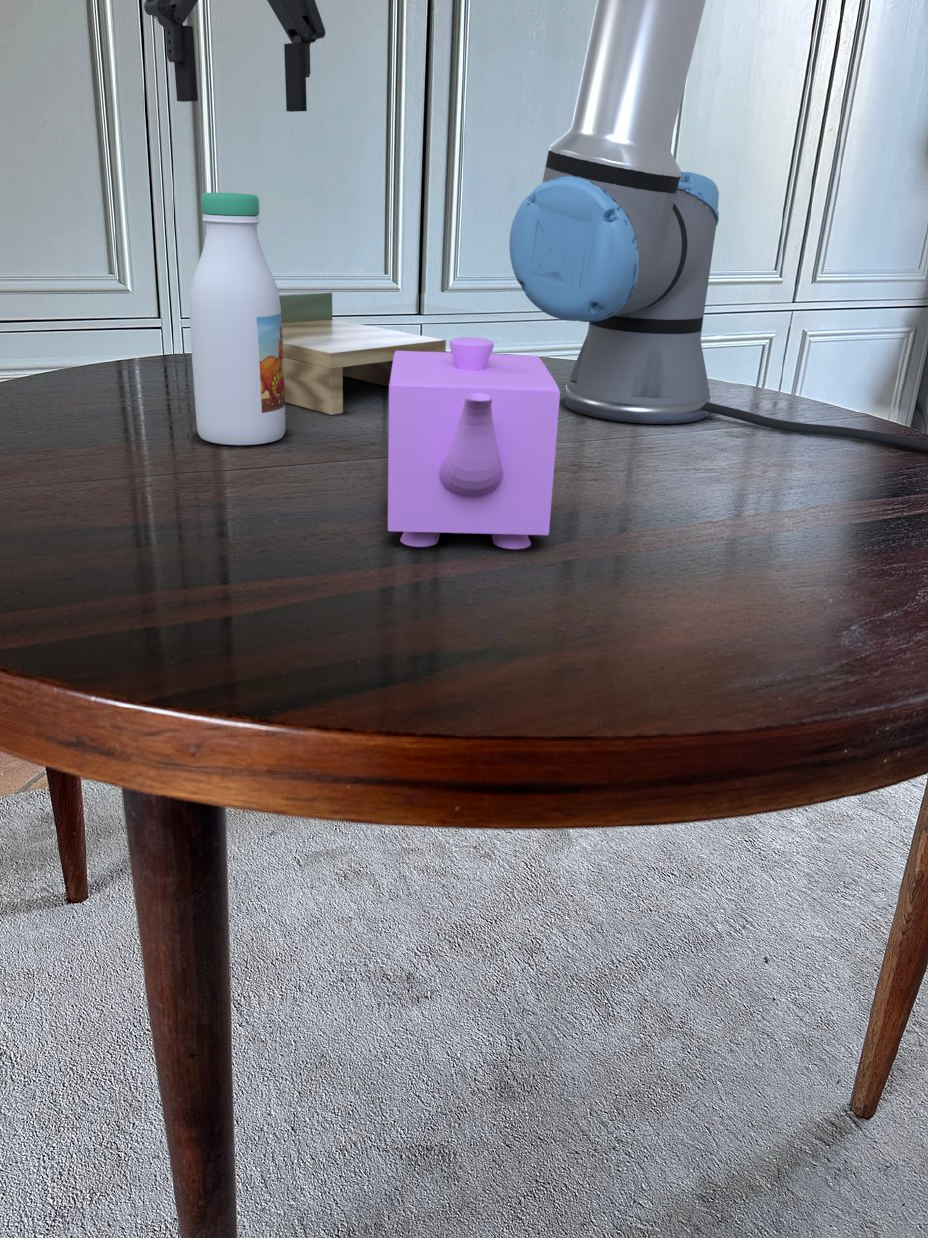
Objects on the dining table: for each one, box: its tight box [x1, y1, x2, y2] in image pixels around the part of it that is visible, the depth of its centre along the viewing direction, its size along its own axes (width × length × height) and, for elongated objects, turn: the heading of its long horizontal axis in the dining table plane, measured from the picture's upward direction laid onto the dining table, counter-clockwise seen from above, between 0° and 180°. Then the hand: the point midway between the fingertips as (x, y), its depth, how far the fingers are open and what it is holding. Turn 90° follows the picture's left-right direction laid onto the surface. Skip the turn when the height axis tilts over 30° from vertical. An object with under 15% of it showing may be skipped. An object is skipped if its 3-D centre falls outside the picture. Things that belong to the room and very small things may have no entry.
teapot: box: [387, 336, 561, 550], centre depth 64 cm, size 20×10×12 cm, turn 2°
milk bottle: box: [189, 192, 286, 446], centre depth 84 cm, size 8×8×20 cm
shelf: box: [279, 291, 447, 416], centre depth 107 cm, size 20×16×9 cm
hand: (244, 106), depth 105 cm, fingers open, 13 cm apart
